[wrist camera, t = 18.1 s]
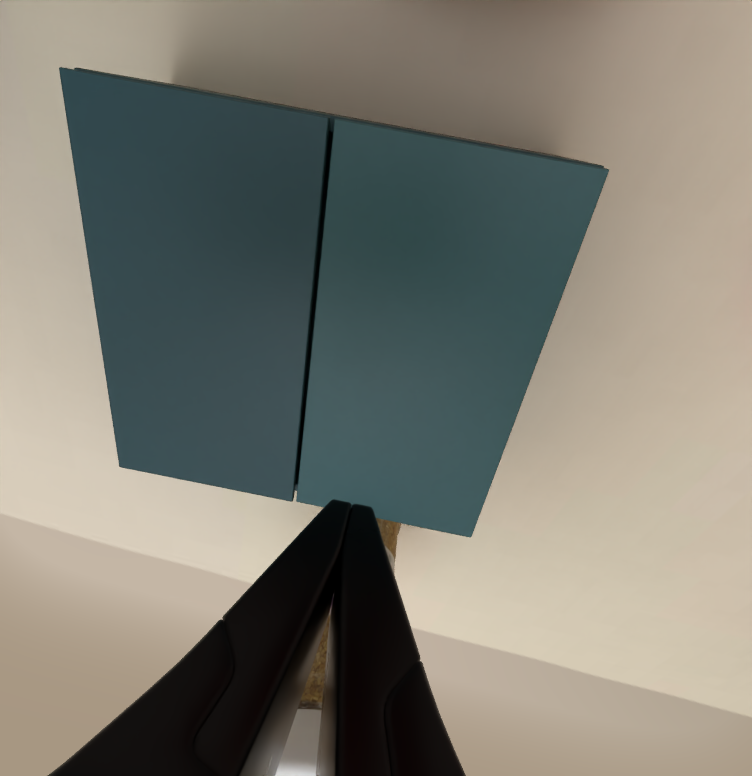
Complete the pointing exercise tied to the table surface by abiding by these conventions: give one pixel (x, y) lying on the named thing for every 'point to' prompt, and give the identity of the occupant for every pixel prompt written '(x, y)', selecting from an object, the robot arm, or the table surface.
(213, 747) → the robot arm
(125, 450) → the box
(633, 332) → the table surface
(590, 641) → the table surface
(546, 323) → the panel
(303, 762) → the sprinkles bottle
